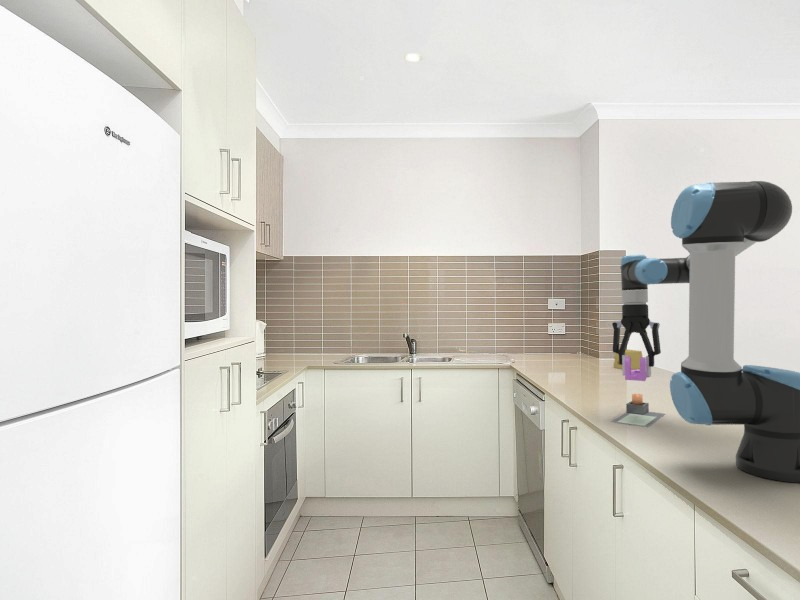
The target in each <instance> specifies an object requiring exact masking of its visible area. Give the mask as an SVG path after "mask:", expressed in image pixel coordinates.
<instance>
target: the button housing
mask: <svg viewBox="0 0 800 600" xmlns="http://www.w3.org/2000/svg"><path fill="white" fill-rule="evenodd" d="M625 405H626V406H625V407H626V412H625V413H632V414H640V415H645V414H646V413H648V412H650V411H649V409H650V408H649V405H650V404H649V402H645V401H643V405H635V404H632V400H631V401H629V402H627V403H626V404H625Z"/></svg>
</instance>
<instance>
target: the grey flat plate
mask: <svg viewBox="0 0 800 600" xmlns="http://www.w3.org/2000/svg"><path fill="white" fill-rule="evenodd" d="M665 415H666V413H661V412H653V411H649V412H648V413H646V414H645V415H640V414H632V413H626V412H624V413H623V414H621V415H619V416H617V417H616V418H614V419H613V420H611V421H610V423H614V424H615V423H616V424H620V425H621V424H623V425H627V426H628V425H629V426H636V427H641V428H642V427H643V428H650V426H652V425H653V424H655V423H656V422H657V421H659V420H660V419H661V418H663V417H664V416H665Z"/></svg>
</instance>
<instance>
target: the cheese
mask: <svg viewBox="0 0 800 600" xmlns="http://www.w3.org/2000/svg"><path fill="white" fill-rule="evenodd" d="M625 354H626V355H627V357H630V358H631V370H640V357H643V352H642V350H633V349H626V350H625ZM625 354H624V355H625ZM613 359H614V361H613V368H614V369H621V370H622V365H620V364H619V354H617V353H615V354H614V355H613Z"/></svg>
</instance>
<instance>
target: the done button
mask: <svg viewBox="0 0 800 600" xmlns="http://www.w3.org/2000/svg"><path fill="white" fill-rule="evenodd" d="M643 399H644V398H643V394H641V393H632V394H631V401H632V404H635V405H643V402H644V400H643Z"/></svg>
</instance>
